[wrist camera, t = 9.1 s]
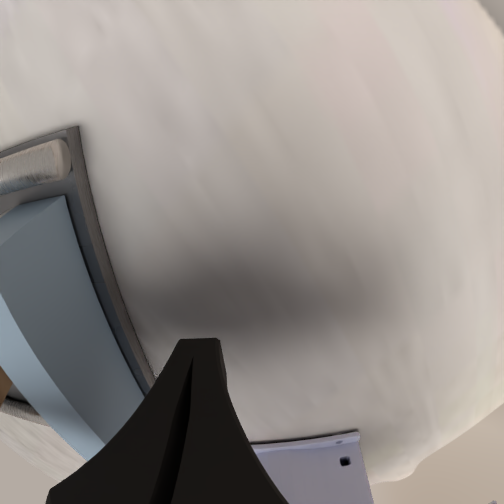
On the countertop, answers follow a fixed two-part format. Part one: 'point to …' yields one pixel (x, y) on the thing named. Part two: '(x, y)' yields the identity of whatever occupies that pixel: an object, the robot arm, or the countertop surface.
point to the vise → (87, 234)
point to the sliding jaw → (59, 330)
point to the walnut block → (4, 385)
